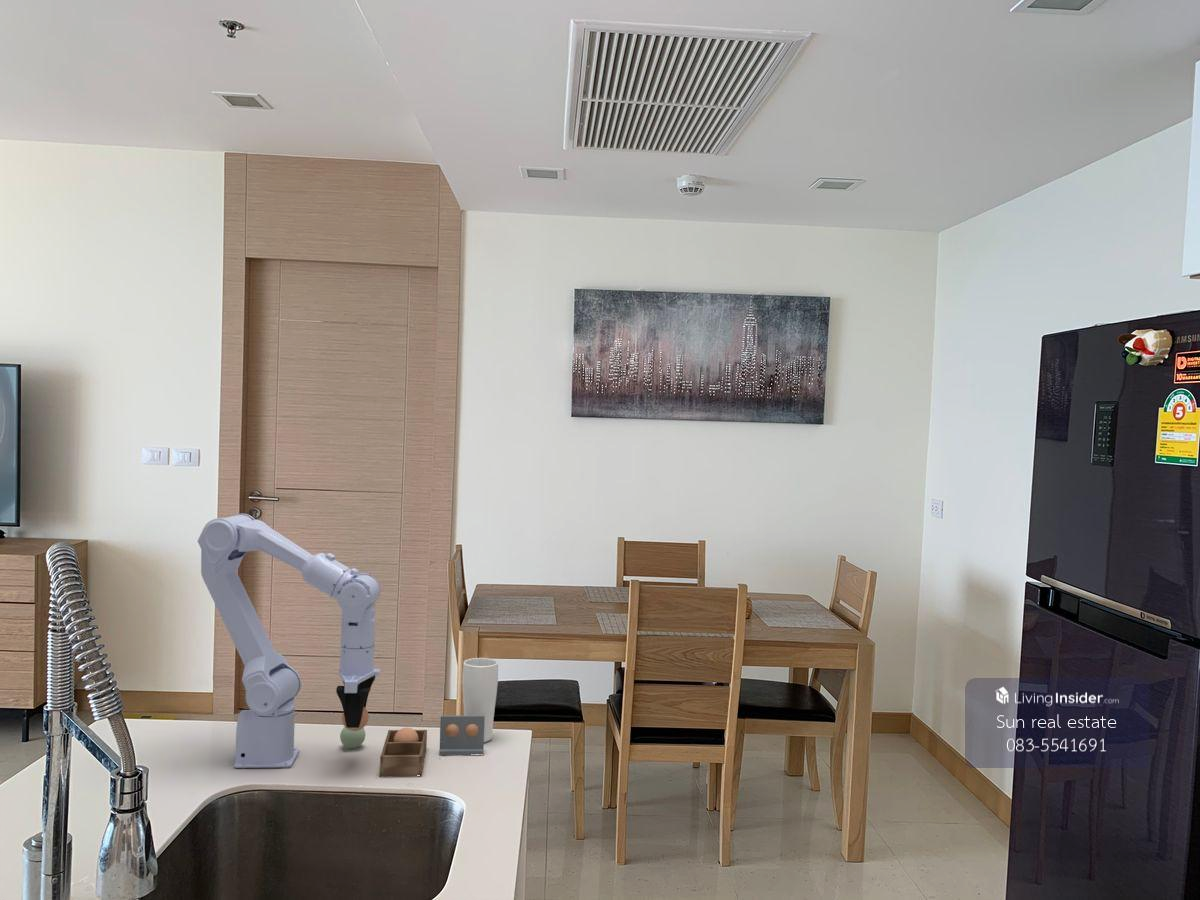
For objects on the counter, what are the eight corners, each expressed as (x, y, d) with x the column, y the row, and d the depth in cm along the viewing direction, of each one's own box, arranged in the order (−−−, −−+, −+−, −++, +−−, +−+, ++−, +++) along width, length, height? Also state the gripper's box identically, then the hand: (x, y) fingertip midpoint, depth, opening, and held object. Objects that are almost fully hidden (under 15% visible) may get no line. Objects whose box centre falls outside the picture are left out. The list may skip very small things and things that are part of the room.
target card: (439, 755, 167) (440, 718, 166) (439, 749, 170) (441, 713, 169) (483, 755, 168) (484, 718, 167) (483, 749, 171) (484, 713, 170)
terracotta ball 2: (391, 757, 164) (392, 732, 163) (394, 748, 168) (395, 724, 168) (417, 757, 164) (418, 732, 164) (419, 748, 169) (420, 724, 168)
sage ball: (338, 752, 166) (338, 727, 166) (341, 743, 171) (342, 719, 171) (363, 751, 167) (364, 727, 167) (366, 743, 172) (367, 719, 171)
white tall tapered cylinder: (478, 748, 171) (480, 668, 171) (452, 739, 175) (455, 661, 175) (503, 739, 177) (505, 662, 176) (478, 731, 181) (480, 655, 180)
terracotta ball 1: (339, 734, 158) (340, 708, 157) (343, 726, 162) (344, 700, 162) (366, 734, 158) (367, 708, 158) (369, 726, 163) (370, 700, 163)
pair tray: (379, 776, 156) (380, 756, 156) (387, 748, 169) (388, 730, 169) (421, 776, 157) (422, 756, 156) (426, 748, 170) (427, 729, 170)
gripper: (376, 655, 153) (373, 736, 153) (385, 635, 167) (382, 709, 168) (332, 655, 152) (330, 736, 153) (345, 635, 167) (343, 709, 167)
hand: (355, 722), depth 160 cm, fingers closed on terracotta ball 1, 4 cm apart
